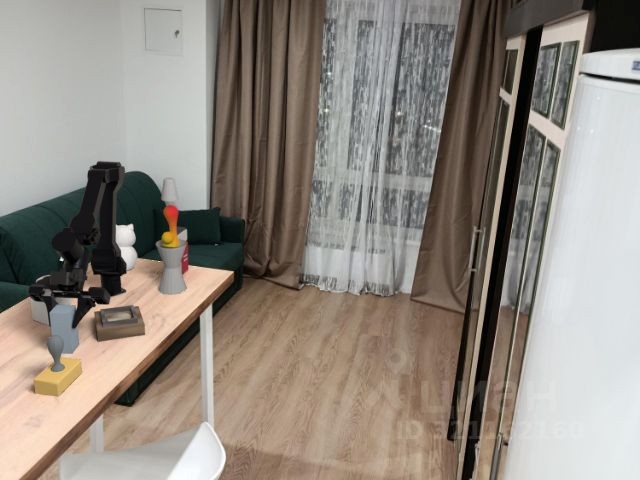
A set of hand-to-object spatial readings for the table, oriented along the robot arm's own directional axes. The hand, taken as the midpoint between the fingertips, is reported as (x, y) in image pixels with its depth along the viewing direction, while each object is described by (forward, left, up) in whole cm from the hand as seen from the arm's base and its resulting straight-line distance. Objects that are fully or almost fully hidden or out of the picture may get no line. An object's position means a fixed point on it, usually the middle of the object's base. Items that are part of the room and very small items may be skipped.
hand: (62, 327), depth 145 cm
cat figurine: (-38, +38, -7) cm, 54 cm away
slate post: (-1, +1, -7) cm, 7 cm away
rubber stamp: (+12, -7, -7) cm, 16 cm away
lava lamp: (-14, +41, -7) cm, 44 cm away
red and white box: (-22, +48, -7) cm, 53 cm away
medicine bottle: (-19, +6, -7) cm, 21 cm away
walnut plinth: (-2, +16, -7) cm, 17 cm away
